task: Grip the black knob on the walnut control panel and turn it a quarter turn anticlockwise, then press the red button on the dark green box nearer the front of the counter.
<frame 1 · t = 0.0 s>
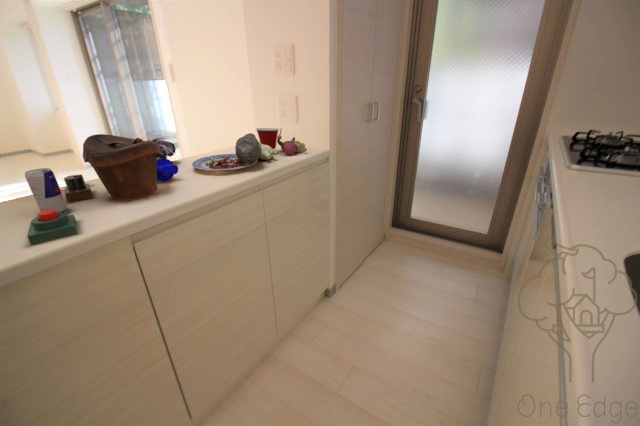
button: (48, 215, 66), point 4 cm above the countertop, slide at 0.1 cm
knob: (75, 182, 87), point 5 cm above the countertop, hinge at 0.0°
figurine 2: (286, 151, 146), on the countertop
figurine: (301, 139, 145), point 6 cm above the countertop
button box: (55, 232, 68), on the countertop
energy drink: (56, 214, 78), on the countertop
ceramic plate: (226, 166, 120), on the countertop, touching decorative stone
decorative flower: (152, 162, 114), point 3 cm above the countertop
pale green lumpy piece: (273, 153, 125), point 4 cm above the countertop, touching decorative stone
toy figure: (169, 169, 99), point 5 cm above the countertop
panel: (80, 197, 89), on the countertop
plastic cup: (269, 153, 141), on the countertop
case: (136, 194, 91), on the countertop
decorative stone: (236, 145, 117), point 9 cm above the countertop, touching ceramic plate, pale green lumpy piece
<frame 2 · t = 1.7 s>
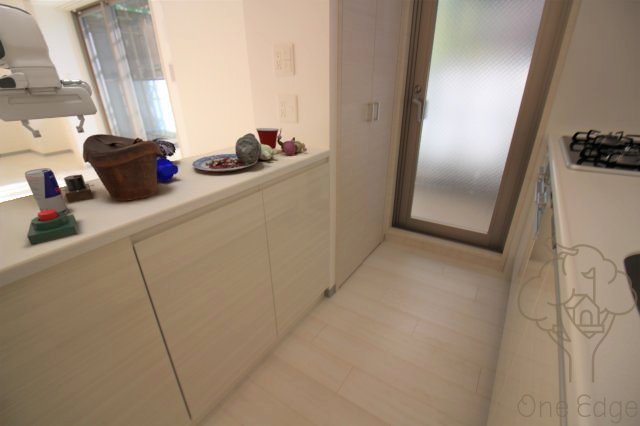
hand: (60, 134, 81), 19 cm above the countertop, tool pointing down, fingers open, 8 cm apart
pale green lumpy piece: (273, 153, 125), point 4 cm above the countertop
decorative stone: (236, 145, 117), point 9 cm above the countertop, touching ceramic plate
everything else where it was.
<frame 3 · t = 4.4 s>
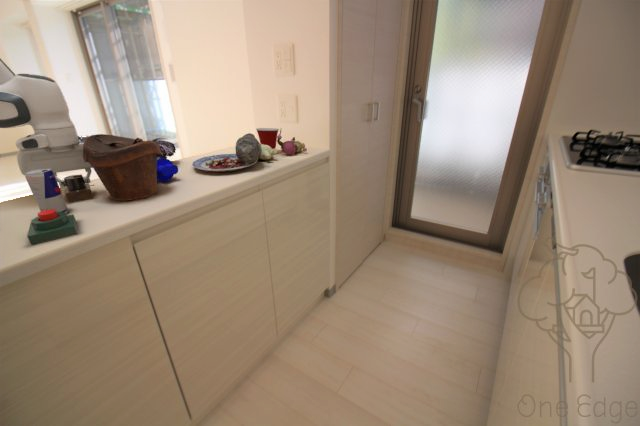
hand: (75, 184, 87), 4 cm above the countertop, tool pointing down, fingers closed on knob, 4 cm apart
knob: (75, 182, 87), point 5 cm above the countertop, hinge at -0.1°, touching gripper
pale green lumpy piece: (273, 153, 125), point 4 cm above the countertop, touching decorative stone
decorative stone: (236, 145, 117), point 9 cm above the countertop, touching ceramic plate, pale green lumpy piece
everything else where it was.
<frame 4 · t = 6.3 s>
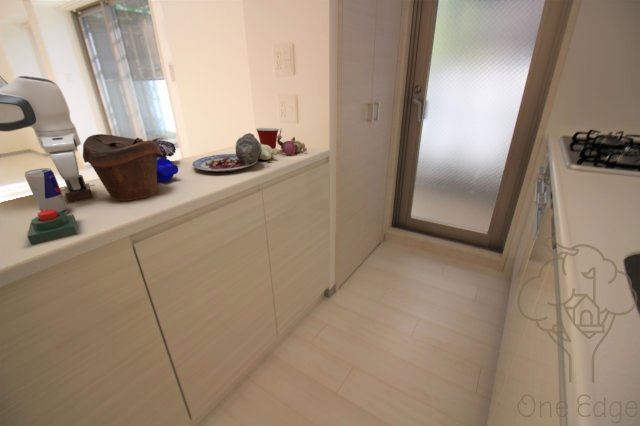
hand: (77, 186, 87), 4 cm above the countertop, tool pointing down, fingers open, 5 cm apart
knob: (75, 182, 87), point 5 cm above the countertop, hinge at 84.8°
everything else where it was.
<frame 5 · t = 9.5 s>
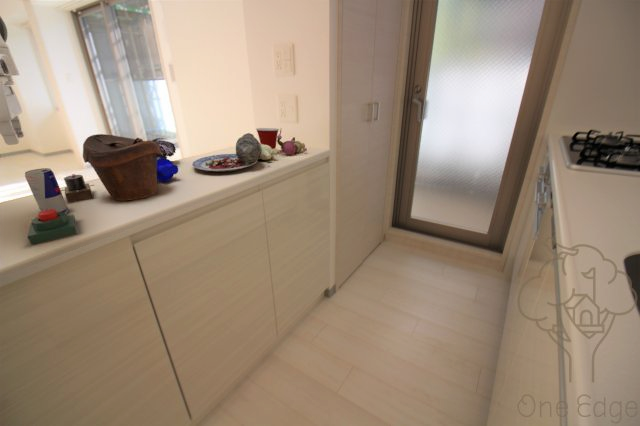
hand: (16, 140, 59), 21 cm above the countertop, tool pointing down, fingers open, 8 cm apart
nothing on the countertop moved.
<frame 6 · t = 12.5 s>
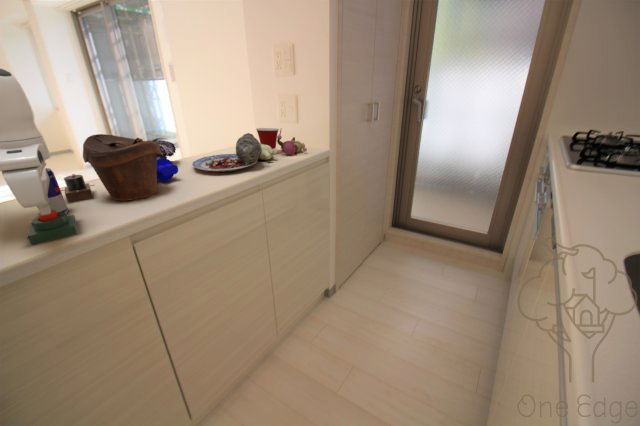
hand: (46, 212, 66), 5 cm above the countertop, tool pointing down, fingers closed, pressing on button
button: (48, 216, 66), point 4 cm above the countertop, slide at -0.1 cm, touching gripper
everything else where it was.
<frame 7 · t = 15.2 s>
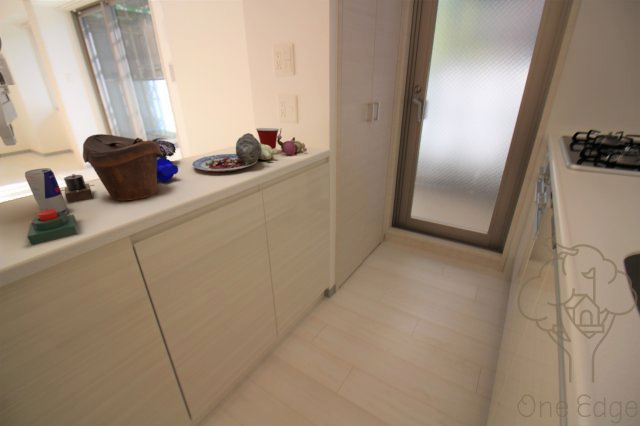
hand: (11, 144, 64), 20 cm above the countertop, tool pointing down, fingers closed
button: (48, 215, 66), point 4 cm above the countertop, slide at 0.1 cm
everything else where it was.
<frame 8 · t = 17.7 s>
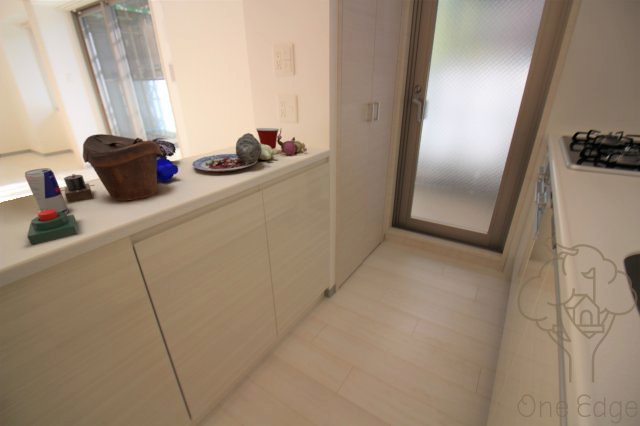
ceramic plate: (226, 166, 120), on the countertop, touching decorative stone, pale green lumpy piece
pale green lumpy piece: (273, 153, 125), point 4 cm above the countertop, touching ceramic plate, decorative stone
everything else where it was.
at the end: knob at +85° (first picture: +0°); button pushed in 1.0 cm at the most during the clip, back to where it started at the end; button slide at 0.1 cm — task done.
